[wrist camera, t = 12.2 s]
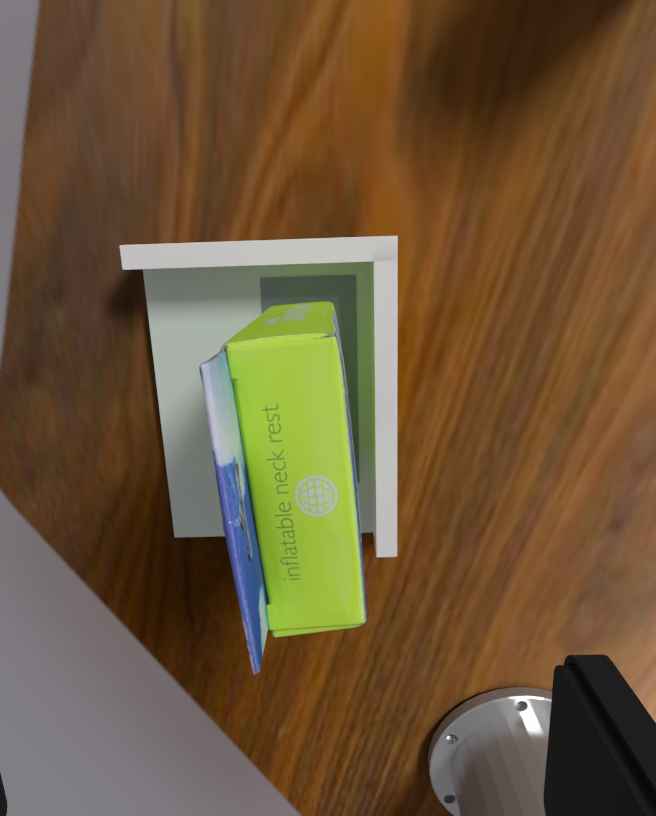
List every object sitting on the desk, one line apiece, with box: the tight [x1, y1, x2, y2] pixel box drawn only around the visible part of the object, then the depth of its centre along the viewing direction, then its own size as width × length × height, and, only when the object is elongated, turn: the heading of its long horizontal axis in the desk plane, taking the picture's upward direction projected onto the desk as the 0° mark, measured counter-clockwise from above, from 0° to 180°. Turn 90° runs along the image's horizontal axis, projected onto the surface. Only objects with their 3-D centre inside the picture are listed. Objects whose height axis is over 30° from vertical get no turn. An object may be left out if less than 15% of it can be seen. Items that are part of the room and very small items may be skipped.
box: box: [199, 301, 367, 674], centre depth 24 cm, size 10×4×17 cm, turn 7°
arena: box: [120, 236, 398, 557], centre depth 31 cm, size 18×14×4 cm
